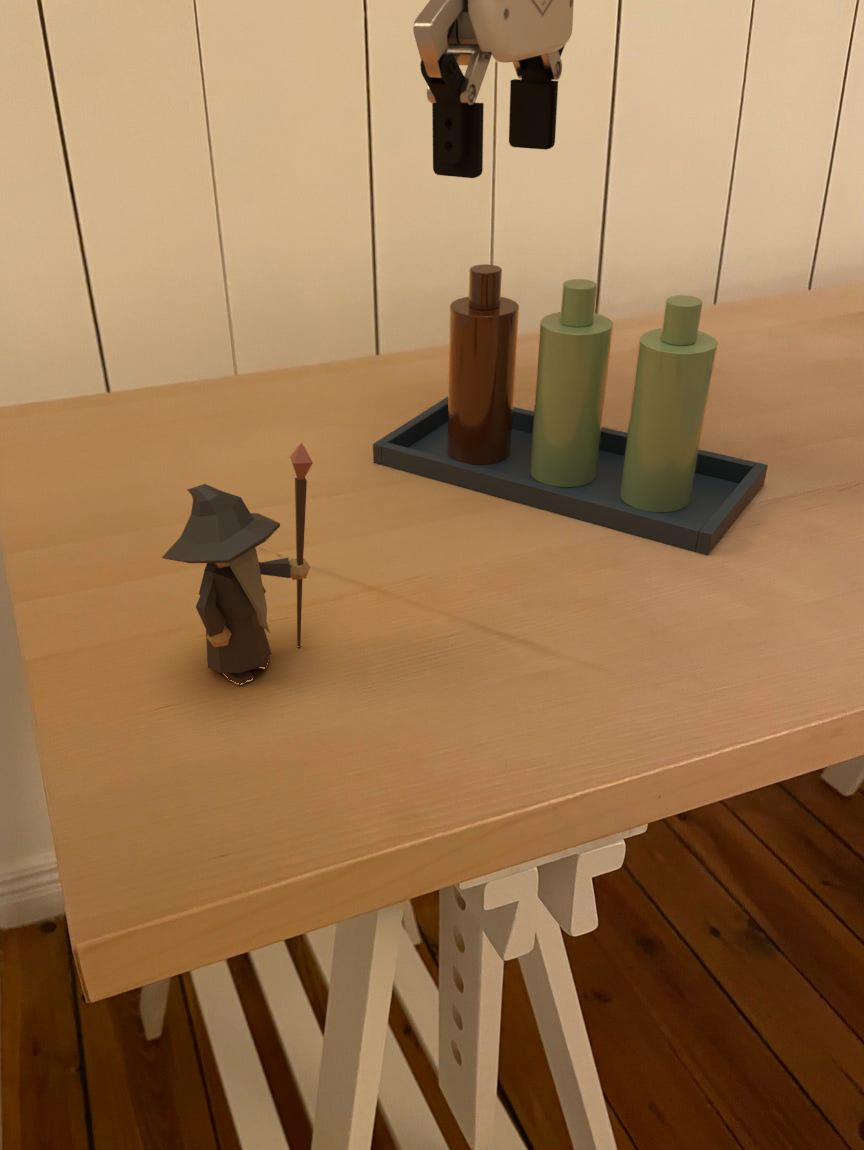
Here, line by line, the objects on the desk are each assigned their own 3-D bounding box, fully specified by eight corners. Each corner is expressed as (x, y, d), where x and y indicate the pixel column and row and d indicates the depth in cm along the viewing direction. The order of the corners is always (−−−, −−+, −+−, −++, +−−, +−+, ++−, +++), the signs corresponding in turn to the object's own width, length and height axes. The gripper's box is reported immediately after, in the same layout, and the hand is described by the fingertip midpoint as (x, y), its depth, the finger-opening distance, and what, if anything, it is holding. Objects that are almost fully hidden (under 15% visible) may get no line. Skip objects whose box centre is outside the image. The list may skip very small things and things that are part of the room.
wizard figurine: (248, 714, 53) (222, 509, 46) (166, 681, 55) (130, 482, 48) (335, 634, 58) (324, 441, 51) (258, 608, 61) (237, 420, 54)
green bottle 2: (700, 491, 71) (735, 296, 63) (675, 519, 67) (709, 317, 60) (635, 475, 73) (661, 284, 65) (608, 501, 70) (632, 304, 62)
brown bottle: (521, 446, 77) (533, 265, 69) (491, 470, 74) (499, 282, 66) (467, 433, 79) (472, 255, 71) (435, 455, 76) (437, 272, 68)
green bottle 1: (607, 468, 74) (629, 279, 66) (579, 493, 71) (599, 298, 63) (548, 453, 76) (562, 269, 68) (518, 477, 73) (530, 287, 65)
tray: (762, 491, 72) (768, 464, 70) (706, 563, 64) (711, 534, 63) (452, 416, 84) (452, 392, 82) (373, 469, 76) (372, 443, 75)
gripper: (486, -196, 47) (480, 194, 57) (632, -181, 59) (606, 141, 69) (356, -182, 51) (372, 183, 61) (517, -170, 62) (508, 135, 72)
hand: (496, 160), depth 65 cm, fingers open, 9 cm apart
